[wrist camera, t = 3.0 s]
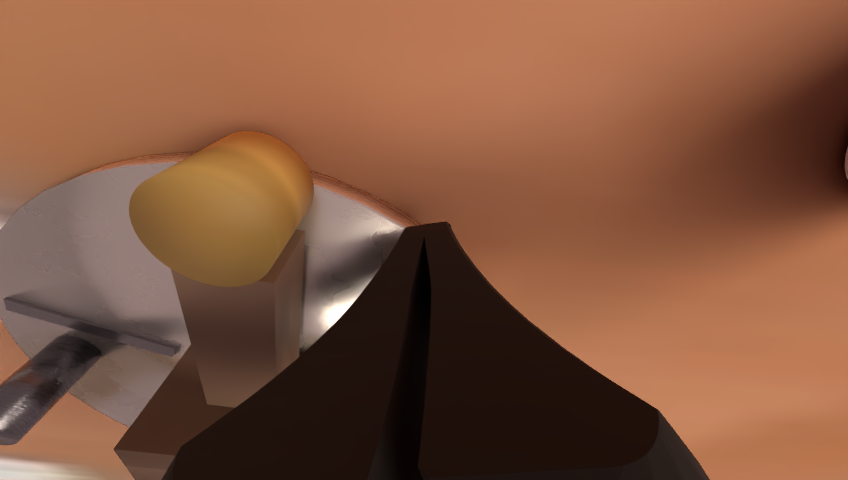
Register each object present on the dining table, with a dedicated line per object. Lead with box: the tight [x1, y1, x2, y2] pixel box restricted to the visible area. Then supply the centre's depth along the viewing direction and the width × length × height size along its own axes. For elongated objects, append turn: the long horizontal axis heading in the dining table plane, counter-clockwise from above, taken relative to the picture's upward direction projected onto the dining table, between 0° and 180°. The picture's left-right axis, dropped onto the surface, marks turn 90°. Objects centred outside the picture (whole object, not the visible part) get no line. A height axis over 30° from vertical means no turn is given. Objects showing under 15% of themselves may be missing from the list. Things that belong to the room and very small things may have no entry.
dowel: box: [0, 336, 102, 445], centre depth 12 cm, size 2×2×4 cm
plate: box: [0, 152, 420, 427], centre depth 15 cm, size 22×22×1 cm
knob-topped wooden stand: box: [114, 131, 314, 480], centre depth 11 cm, size 15×6×4 cm, turn 165°
